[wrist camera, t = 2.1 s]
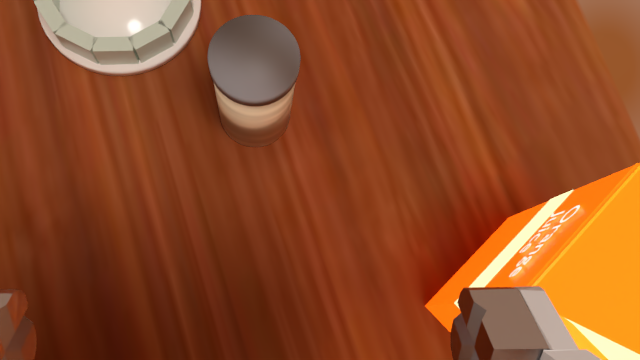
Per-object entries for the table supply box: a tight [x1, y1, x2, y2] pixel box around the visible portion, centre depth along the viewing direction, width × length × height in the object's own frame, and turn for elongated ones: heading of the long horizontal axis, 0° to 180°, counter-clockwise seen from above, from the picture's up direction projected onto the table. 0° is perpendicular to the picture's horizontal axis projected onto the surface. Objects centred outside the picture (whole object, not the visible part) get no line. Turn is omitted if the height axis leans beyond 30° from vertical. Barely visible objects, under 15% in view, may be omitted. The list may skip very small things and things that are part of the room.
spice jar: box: [208, 15, 300, 147], centre depth 36 cm, size 5×5×9 cm
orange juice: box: [425, 163, 640, 360], centre depth 29 cm, size 8×9×20 cm
